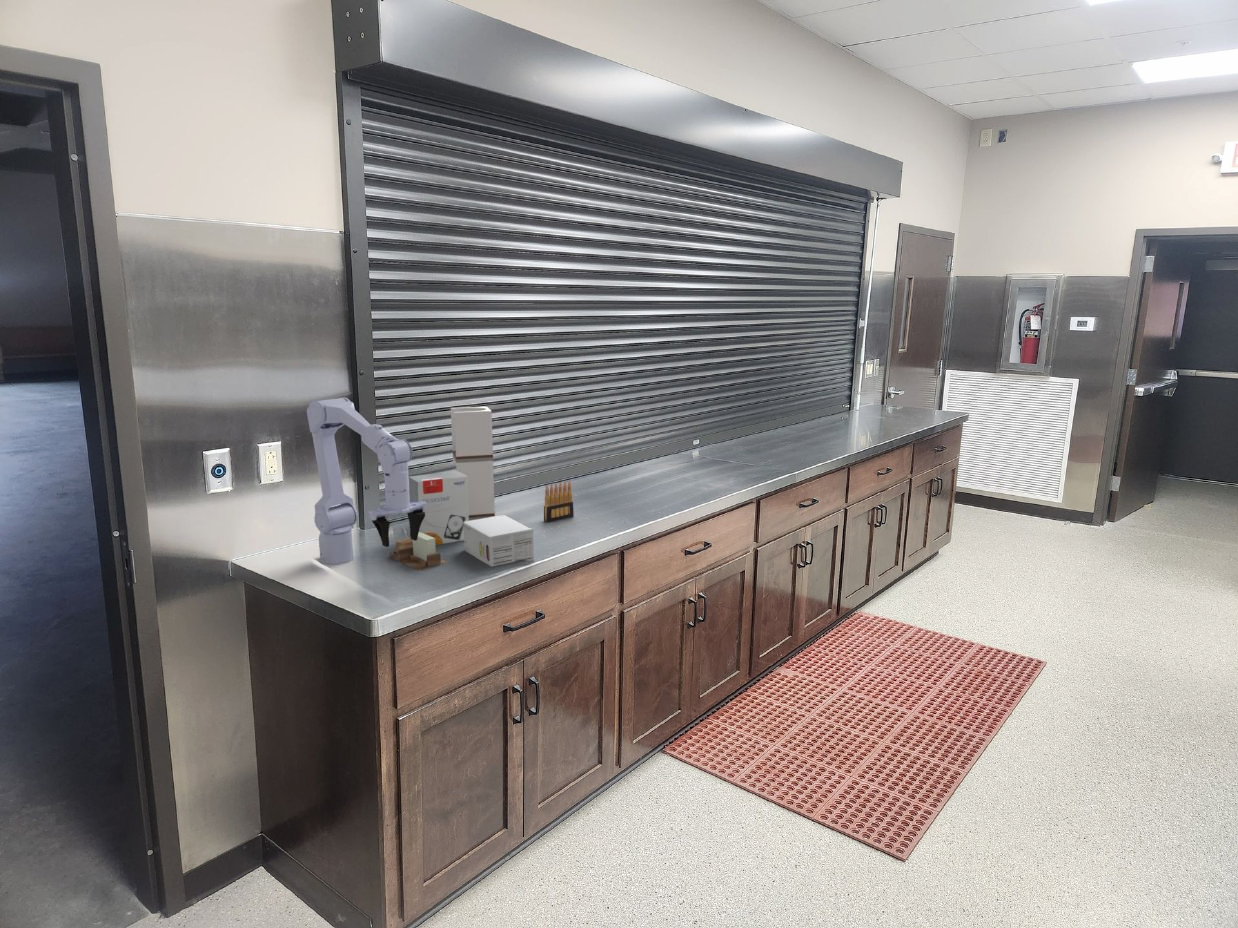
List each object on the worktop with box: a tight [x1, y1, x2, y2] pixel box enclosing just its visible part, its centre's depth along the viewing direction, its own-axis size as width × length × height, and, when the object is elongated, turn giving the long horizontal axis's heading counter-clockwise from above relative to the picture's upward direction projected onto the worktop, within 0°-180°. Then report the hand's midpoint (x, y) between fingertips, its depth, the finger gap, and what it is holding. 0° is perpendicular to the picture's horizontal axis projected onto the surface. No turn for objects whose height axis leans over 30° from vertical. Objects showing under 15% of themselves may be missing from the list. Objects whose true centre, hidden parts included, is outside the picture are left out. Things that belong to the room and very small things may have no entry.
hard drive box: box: [409, 471, 469, 546], centre depth 229 cm, size 16×8×20 cm, turn 122°
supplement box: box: [463, 514, 535, 567], centre depth 218 cm, size 17×13×9 cm
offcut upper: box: [395, 536, 413, 550], centre depth 216 cm, size 3×6×2 cm, turn 137°
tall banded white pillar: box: [450, 406, 496, 521], centre depth 255 cm, size 11×11×35 cm
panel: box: [413, 532, 437, 562], centre depth 212 cm, size 8×2×7 cm, turn 43°
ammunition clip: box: [543, 480, 575, 523], centre depth 255 cm, size 11×2×12 cm, turn 131°
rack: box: [389, 547, 449, 571], centre depth 213 cm, size 15×9×4 cm, turn 43°
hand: (400, 542), depth 198 cm, fingers open, 7 cm apart
